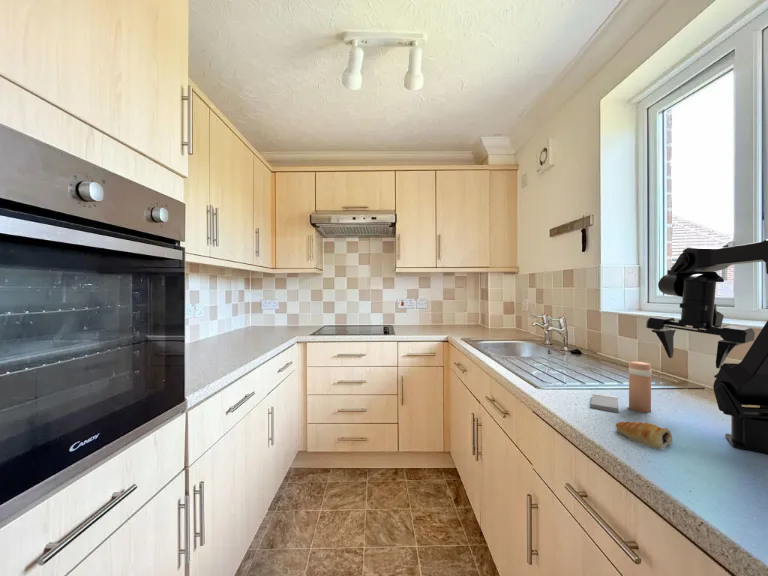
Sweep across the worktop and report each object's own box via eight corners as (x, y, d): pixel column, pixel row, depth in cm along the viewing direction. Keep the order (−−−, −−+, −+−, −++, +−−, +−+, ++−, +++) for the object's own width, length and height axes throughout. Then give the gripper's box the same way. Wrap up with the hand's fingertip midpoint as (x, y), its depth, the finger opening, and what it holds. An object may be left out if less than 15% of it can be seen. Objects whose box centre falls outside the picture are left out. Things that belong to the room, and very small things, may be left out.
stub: (652, 413, 85) (652, 366, 85) (629, 410, 88) (629, 364, 88) (650, 408, 89) (650, 362, 89) (628, 404, 92) (628, 360, 92)
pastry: (609, 434, 74) (609, 416, 74) (625, 428, 78) (625, 411, 78) (660, 452, 66) (660, 433, 66) (676, 444, 70) (676, 426, 70)
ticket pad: (618, 412, 86) (618, 407, 86) (590, 407, 90) (590, 403, 90) (617, 401, 95) (617, 397, 95) (592, 397, 98) (592, 393, 98)
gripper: (766, 301, 77) (760, 368, 79) (668, 294, 94) (664, 349, 95) (747, 305, 72) (740, 376, 74) (647, 296, 89) (643, 354, 90)
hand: (693, 362), depth 83 cm, fingers open, 9 cm apart
